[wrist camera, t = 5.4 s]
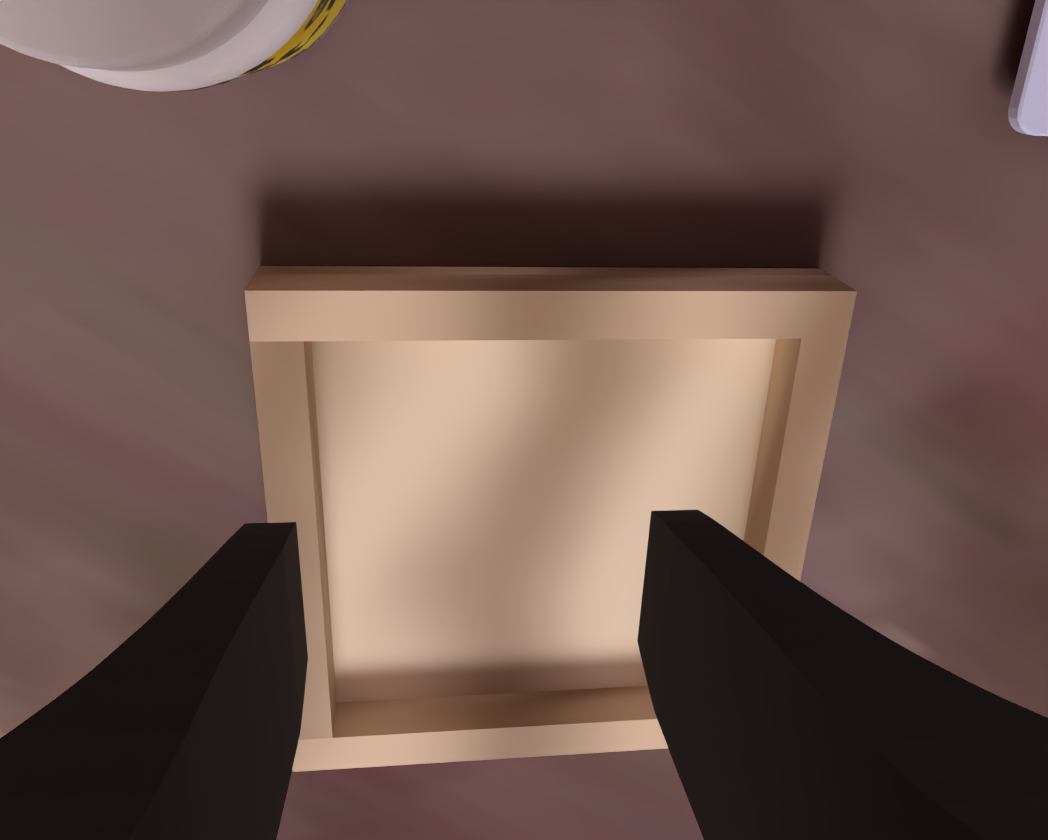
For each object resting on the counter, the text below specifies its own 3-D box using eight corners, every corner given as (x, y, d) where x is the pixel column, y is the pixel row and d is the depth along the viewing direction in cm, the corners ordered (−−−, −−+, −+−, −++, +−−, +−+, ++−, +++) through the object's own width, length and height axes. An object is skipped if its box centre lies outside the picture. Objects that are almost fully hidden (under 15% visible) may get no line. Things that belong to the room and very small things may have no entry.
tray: (819, 268, 19) (856, 291, 18) (744, 693, 24) (768, 742, 23) (260, 265, 18) (244, 290, 16) (301, 718, 23) (292, 771, 21)
